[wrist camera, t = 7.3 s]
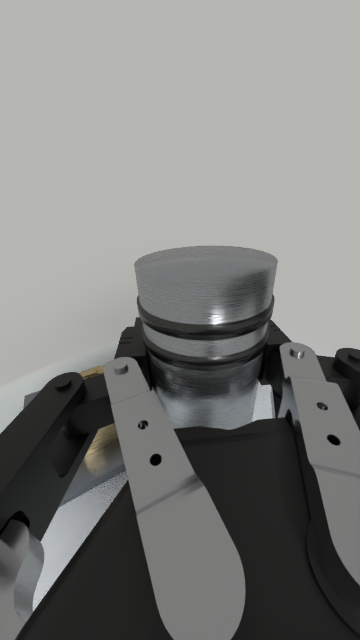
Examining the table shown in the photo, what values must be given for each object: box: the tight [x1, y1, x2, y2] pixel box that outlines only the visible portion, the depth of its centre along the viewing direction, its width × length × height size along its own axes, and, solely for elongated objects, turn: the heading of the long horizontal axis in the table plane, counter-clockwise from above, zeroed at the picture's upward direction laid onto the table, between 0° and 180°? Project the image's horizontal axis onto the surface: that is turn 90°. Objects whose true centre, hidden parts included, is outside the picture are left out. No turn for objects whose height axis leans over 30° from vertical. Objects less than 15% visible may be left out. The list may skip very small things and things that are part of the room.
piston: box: [134, 246, 277, 430], centre depth 11 cm, size 5×5×11 cm
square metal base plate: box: [24, 366, 126, 507], centre depth 24 cm, size 14×14×4 cm
